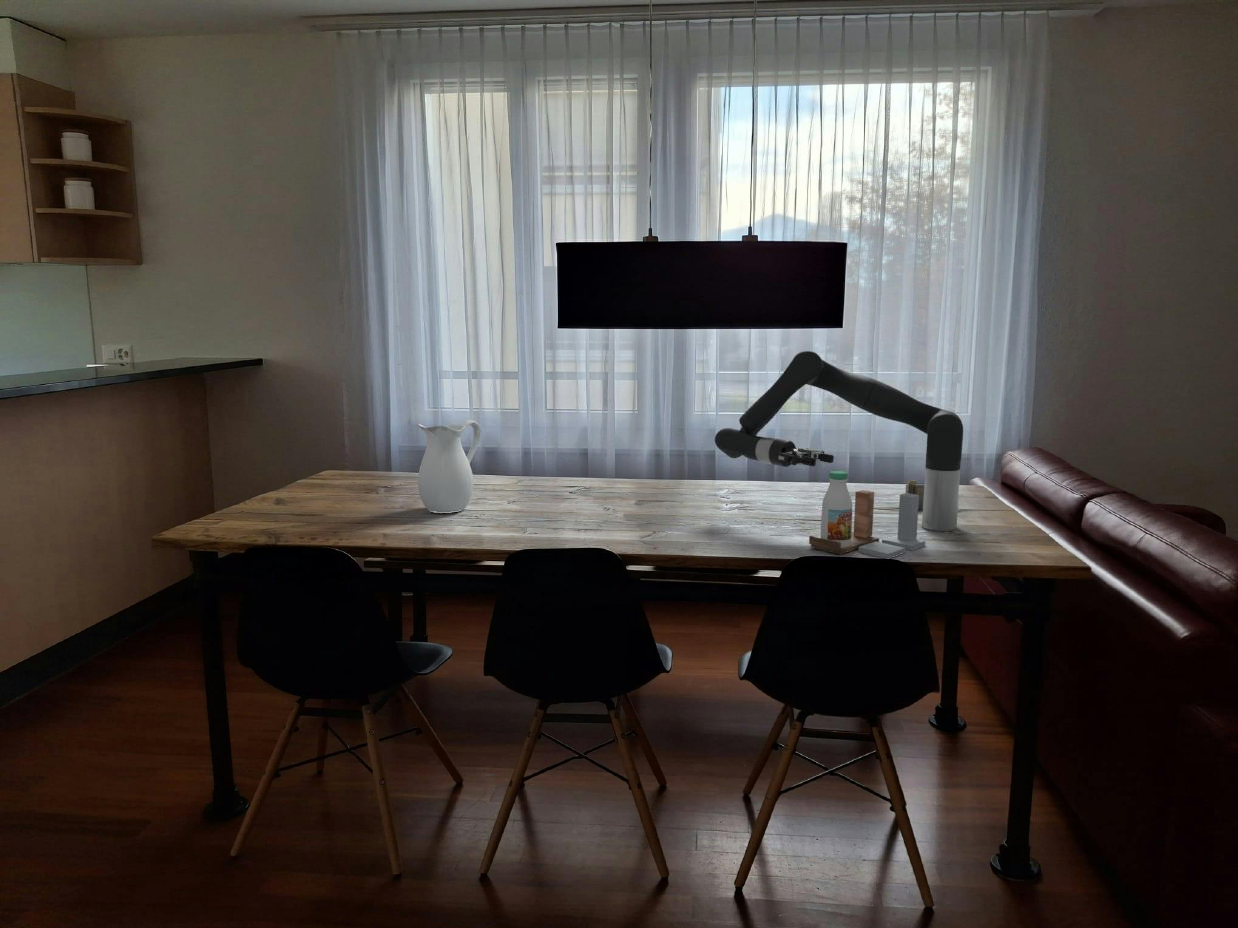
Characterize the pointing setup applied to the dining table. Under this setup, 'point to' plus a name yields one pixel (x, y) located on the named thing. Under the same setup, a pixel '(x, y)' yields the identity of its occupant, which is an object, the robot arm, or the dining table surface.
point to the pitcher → (447, 467)
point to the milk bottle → (837, 510)
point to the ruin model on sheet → (916, 490)
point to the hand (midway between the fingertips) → (824, 460)
